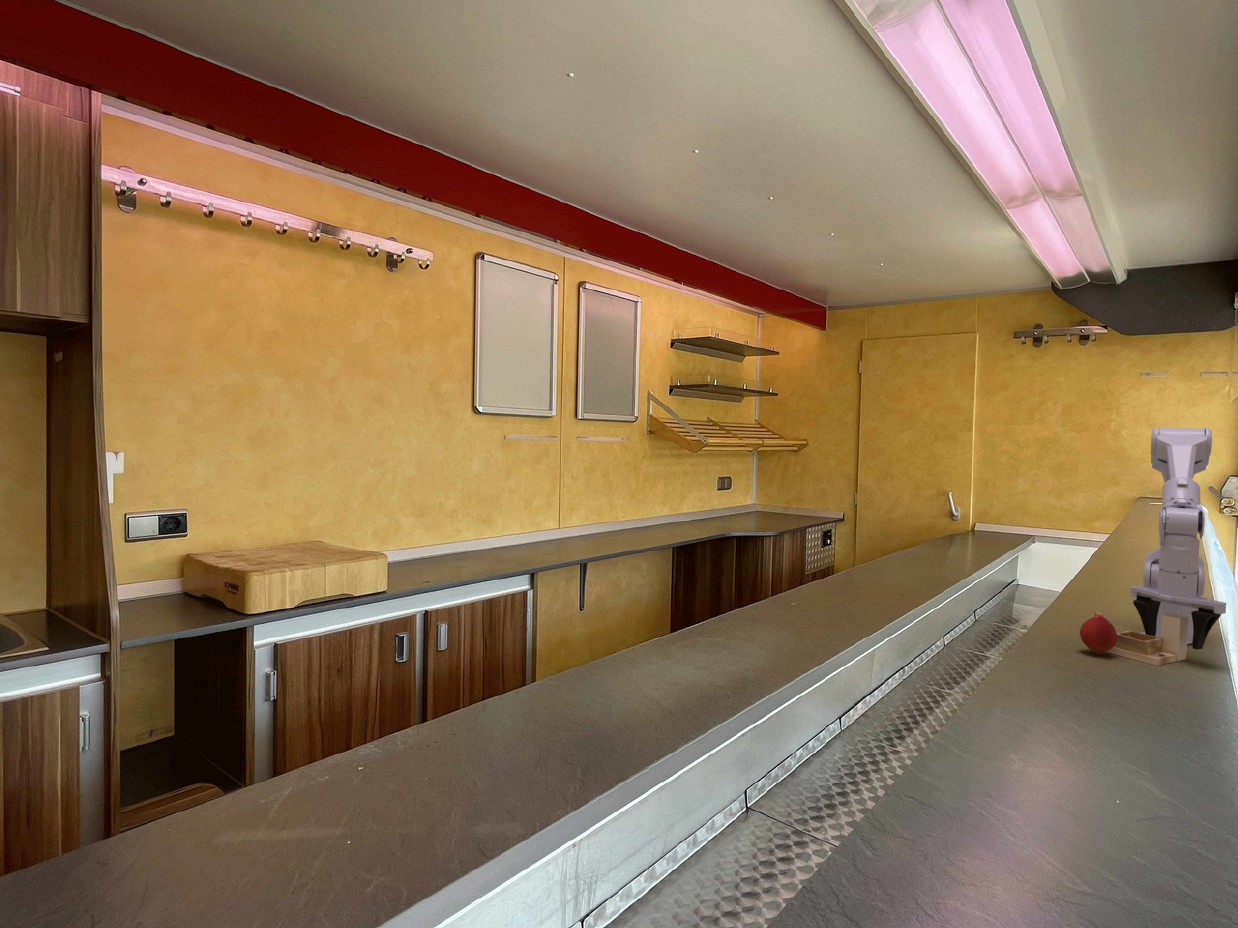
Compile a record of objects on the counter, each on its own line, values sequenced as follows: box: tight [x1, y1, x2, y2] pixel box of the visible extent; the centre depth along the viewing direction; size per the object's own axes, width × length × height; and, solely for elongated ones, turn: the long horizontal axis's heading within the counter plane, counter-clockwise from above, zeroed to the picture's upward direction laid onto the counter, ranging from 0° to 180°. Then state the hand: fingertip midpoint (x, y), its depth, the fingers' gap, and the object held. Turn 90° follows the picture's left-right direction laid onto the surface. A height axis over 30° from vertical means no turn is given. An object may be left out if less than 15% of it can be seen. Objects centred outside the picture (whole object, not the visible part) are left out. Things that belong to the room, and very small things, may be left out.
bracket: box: [1105, 630, 1177, 667], centre depth 132 cm, size 6×10×4 cm, turn 27°
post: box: [1160, 613, 1189, 662], centre depth 131 cm, size 3×3×8 cm
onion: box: [1079, 611, 1118, 655], centre depth 132 cm, size 6×6×8 cm
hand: (1173, 642), depth 131 cm, fingers open, 7 cm apart
